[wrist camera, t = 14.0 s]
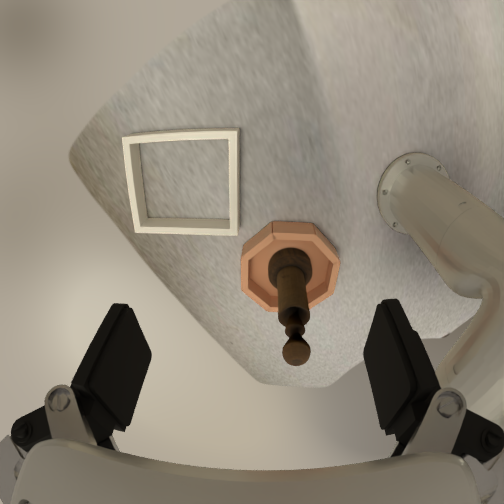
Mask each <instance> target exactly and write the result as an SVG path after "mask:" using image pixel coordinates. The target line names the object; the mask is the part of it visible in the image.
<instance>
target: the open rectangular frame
mask: <svg viewBox="0 0 504 504" xmlns="http://www.w3.org/2000/svg"><path fill="white" fill-rule="evenodd" d="M201 139H229V207H230V219H193V218H148V215H147V209H146V201H145V194H144V186H143V178H142V169H141V159H140V149H139V143H146V142H160V141H176V140H201ZM122 141H123V152H124V161H125V169H126V177H127V184H128V191H129V198H130V204H131V210H132V216H133V222H134V228H135V233H163V234H196V235H225V236H238V231H239V227H240V128H205V129H182V130H166V131H154V132H143V133H133V134H130V135H127V136H125V137H122Z"/></svg>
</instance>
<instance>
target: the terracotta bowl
mask: <svg viewBox="0 0 504 504" xmlns="http://www.w3.org/2000/svg"><path fill="white" fill-rule="evenodd" d="M285 248H297V249H300V250H302V251H304V252H305V253H306V254H307V255H308V256H309V258H310V261H311V265H312V278H311V280H310V282H309V283H308V284H307V285H306V292H307V298H308V305H309V309H311V308H312V307H314V306H315V305H317V304H318V303H320V302H322V301H323V300H325V299H326V298H328V297H329V296H331V295H332V294H333V293H334V289H335V285H336V280H337V276H338V271H339V267H340V260H339V257H338V254H337V251H336V249H335V247H334V246H333V245H332V244H331V243H330V242H329V241H328V239H327V238H326V237H325V236H324V235H323V234H322V233H321V232H320V231H319V229H318V228H317V227H316V226H315V225H314V224H312V223H302V222H282V221H273V222H270V223H269V224H268V225H267V226H266V227H264V228H263V229H262V230H261V231H259V232H258V233H257V234H256V235H255V236H253V237H252V238H251V239H250V240H249V241H247V242H246V243H245V244H244V245H243V249H242V255H241V290H242V291H243V292H244V293H245V294H246V295H248V296H249V297H250V298H251V299H252V300H254V301H255V302H256V303H257V304H259V305H260V306H261V307H262V308H264V309H265V310H266V311H268V312H278V290H277V289H276V288H275V287H274V286H273V285H272V284H271V283H270V281H269V278H268V264H269V261H270V259H271V257H272V256H273V255H274V254H275V253H276V252H277V251H279V250H281V249H285Z"/></svg>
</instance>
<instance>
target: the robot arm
mask: <svg viewBox="0 0 504 504" xmlns="http://www.w3.org/2000/svg"><path fill="white" fill-rule="evenodd" d="M406 159H407V161H406ZM405 161H406V162H405ZM383 190H384V191H383ZM377 201H378V207H379V210H380V213H381V215H382V217H383V219H384V220H385V221H386V223H387V224H388V225H389V226H390V227H391V228H392V229H394V230H395V231H397V232H399V233H403V234H409V235H410V236H411V237H412V239H413V240H414V241H415V242H416V244H417V245H418V246H419V248H420V249H421V250H422V252H423V253H424V254H425V256H426V257H427V258H428V260H429V261H430V262H431V264H432V265H433V266H434V268H435V269H436V271H437V272H438V273H439V275H440V276H441V277H442V279H443V280H444V282H445V283H446V284H447V286H448V287H449V288H450V289H451V290H452V291H453V292H455V293H457V294H458V295H460V296H463V297H467V298H475V299H482V298H483V300H482V303H481V306H480V308H479V309H478V311H477V313H476V314H475V316H474V317H473V319H472V321H471V323H470V324H469V326H468V327H467V328H466V330H465V331H464V333H463V334H462V335H461V337H460V338H459V339H458V341H457V342H456V343H455V344H454V346H453V347H452V348H451V350H450V351H449V352H448V353H447V355H446V356H445V357H444V359H443V360H442V361H441V363H440V364H439V366H438V367H437V369H436V371H434V369H433V367H432V364H431V362H430V359H429V357H428V355H427V353H426V350H425V348H424V345H423V343H422V341H421V339H420V336H419V334H418V333H417V332H416V331H415V330H413V329H412V327H411V325H410V323H409V320H408V318H407V316H406V314H405V312H404V310H403V308H402V306H401V304H400V302H399V300H398V299H385V300H382V302H381V304H378V305H377V308H376V311H375V315H374V318H373V322H372V325H371V328H370V332H369V335H368V338H367V341H366V344H365V347H364V352H363V356H364V361H365V364H366V368H367V372H368V376H369V380H370V384H371V388H372V392H373V396H374V401H375V405H376V410H377V414H378V419H379V424H380V427H381V429H382V430H383V429H385V433H386V435H391V434H395V436H396V440H397V443H396V445H395V446H394V448H393V450H392V452H391V453H390V455H389V457H388V458H385V459H380V460H374V461H369V462H363V463H356V464H349V465H342V466H334V467H325V468H315V469H301V470H271V471H270V470H268V471H266V470H265V471H264V470H263V471H262V470H232V469H217V468H206V467H197V466H190V465H182V464H176V463H169V462H164V461H159V460H154V459H148V458H144V457H139V456H135V455H131V454H127V453H122V452H120V451H119V449H118V447H117V445H116V443H115V440H114V438H113V436H112V433H113V430H114V429H115V430H119V431H123V432H125V429H126V426H129V425H130V423H131V420H132V417H133V413H134V409H135V407H136V404H137V401H138V398H139V394H140V391H141V388H142V385H143V382H144V379H145V376H146V373H147V370H148V367H149V364H150V361H151V356H152V354H151V350H150V348H149V346H148V343H147V341H146V339H145V337H144V335H143V332H142V330H141V328H140V326H139V323H138V321H137V318H136V316H135V313H134V311H133V309H132V308H129V306H128V304H118V303H114V304H113V305H112V306H111V308H110V309H109V311H108V313H107V315H106V316H105V318H104V320H103V322H102V324H101V325H100V327H99V329H98V331H97V333H96V335H95V336H94V338H93V340H92V342H91V344H90V346H89V348H88V350H87V352H86V354H85V356H84V358H83V360H82V362H81V364H80V366H79V368H78V370H77V372H76V374H75V376H74V378H73V380H72V382H71V383H72V384H71V386H70V387H69V386H67V385H57V386H55V387H53V388H52V389H51V390H50V391H49V392H48V393H47V395H46V397H45V405H44V406H43V407H41V408H39V409H37V410H35V411H33V412H31V413H29V414H27V415H25V416H23V417H21V418H19V419H18V420H16V421H15V423H14V424H13V426H12V429H11V436H9V435H7V436H6V437H5V438H4V439H3V440H2V441H1V442H0V499H1V500H2V502H3V504H504V218H503V217H501V216H500V215H499V214H497V213H496V212H495V211H494V210H492V209H491V208H490V207H488V206H487V205H486V204H484V203H483V202H482V201H480V200H479V199H477V198H476V197H475V196H473V195H472V194H470V193H469V192H468V191H466V190H465V189H463V188H462V187H460V186H459V185H457V184H456V183H454V182H453V181H451V180H450V178H449V175H448V173H447V171H446V169H445V168H444V166H443V165H442V164H441V163H440V162H439V161H438V160H437V159H435V158H433V157H432V156H430V155H427V154H424V153H409V154H405V155H403V156H401V157H399V158H398V159H396V160H395V161H394V162H392V163H391V165H390V166H389V167H388V168H387V169H386V171H385V172H384V174H383V176H382V178H381V181H380V183H379V187H378V194H377Z"/></svg>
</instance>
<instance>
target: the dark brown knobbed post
mask: <svg viewBox="0 0 504 504" xmlns="http://www.w3.org/2000/svg"><path fill="white" fill-rule="evenodd" d="M268 278H269V281H270V283H271V284H272V285H273V286H274V287H275V288H276V289H277V290H278V319H279V322H280V323H281V324H282V325H283V326H285V327H286V329H285V333H286V335H287V336H288V337H289V339H288V341H287V342H286V343H285V345H284V347H283V351H282V353H283V358H284V360H285V361H286V362H287V363H288V364H290V365H293V366H300V365H303V364H304V363H306V362H307V360H308V359H309V357H310V353H311V350H310V346H309V344H308V343H307V342H306V341H305V340H304V339H303V338H302V335H303V334H304V333H305V328H304V325H305V324H307V322H308V321H309V319H310V311H309V305H308V298H307V292H306V285H307V284H308V283H309V282H310V280H311V278H312V265H311V261H310V258H309V256H308V255H307V254H306V253H305V252H304V251H302V250H300V249H297V248H285V249H281V250H279V251H277V252H276V253H275V254H274V255H273V256H272V257H271V259H270V261H269V264H268Z"/></svg>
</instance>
